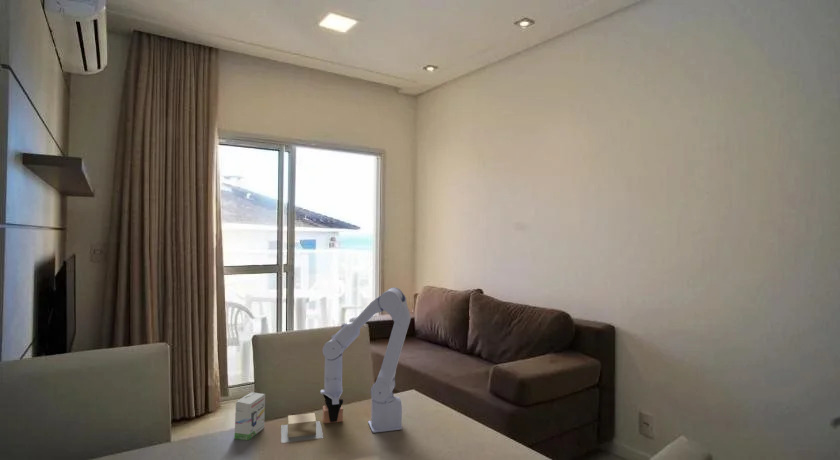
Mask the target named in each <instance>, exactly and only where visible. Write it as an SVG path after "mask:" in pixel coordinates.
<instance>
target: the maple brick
mask: <svg viewBox="0 0 840 460" xmlns="http://www.w3.org/2000/svg"><path fill="white" fill-rule="evenodd" d="M316 421H317V420H316V414H315V412H312V413H311V412H310V413H301V414H293V415H292V414H289V415H287V424H288V437H296V436H305V435H313V434H316Z"/></svg>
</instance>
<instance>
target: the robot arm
mask: <svg viewBox="0 0 840 460" xmlns="http://www.w3.org/2000/svg"><path fill="white" fill-rule="evenodd" d="M383 312H385V313H387V314H388V315H389V316H390V317H391V319H392V320H393V326H392V329H391V332H390V336H389V339H388V344H387V347H386V350H385V354H384V356H383V360H382V363H381V367H380V370H379V373H378V375H377V378H376V380H375V382H374V383H373V385H371V388H370V396H371V415H370V417H371V418H370V419H371V420H368V422H367V423H368V426H369V428H370V429H371V432H372V433H382V432H392V431H398V430H399V431H400V430H402V429H403V426H402V423H403V421H402V417H403V405H402V400H401V398H400V397H399V396H395V395H394V392H393V391H394V389H395V388H396V380H395V378H396V373H397V367H398V364H399V360H400V357H401V353H402V350H403V346H404V344H405V340H406V335H407V332H408V329H409V326H410V323H411V319H412V317H411V312H410V311H409V305H408V302H407V297H406V295H405V294H404V292H403V291H402V290H401V289H400V288H398V287H389V288H388V289H387V290H386V291H383V293H381V294H380V295H379V296H377V297H376V298H374V300H373V301H371V302H370V303H369V304H368V305H367V306H366V307H365V308H364V309H363V310H362V312H361V313H360V314H359V315H358V316H357V317H356V319H354V320H353V321H347V322H346V323H345V322H344V323H342V324H341V325H340V329H339V330H338V331H337V332H336V333H335V334H332V335H331V337H330V338H331V339H329V341H327V342H325V344H324V345H323V346H322V354H323V356H324V372H323V373H324V374H323V375H324V380H323V382H324V384H323V385H324V386H323V387H324V388H323V389H320V392H319V393H320V395H323V398H324V399H325V400H324V402H325V406H327V407H328V412H329V419H330V422H331V423H337V422H336V421H337V419H338V414H339V410H340V407H341V405H342V406H343V403H344V399H342V398H340V397H341V396H342V394H343V353H344V352H345V351H346V349H348V347H349V346H350V345H351V344H352V343H353V342H355V340H357V338H358V337H360V334H361V328H362V327H363V326H364V325H365V324H367V322H368V321H370V320H371V319H372V317H374V316H375V314H379V313H383Z"/></svg>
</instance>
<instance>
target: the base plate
mask: <svg viewBox="0 0 840 460" xmlns="http://www.w3.org/2000/svg"><path fill="white" fill-rule="evenodd" d="M318 439H319V440H320V439H324V433H323V428H322V425H321V421H320V420H316V434H313V435H305V436H296V437H288V423H287V424H281V425H280V442H281V444H285V443H293V442H302V441H303V442H304V441H309V440H310V441H311V440H318Z"/></svg>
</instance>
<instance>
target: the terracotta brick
mask: <svg viewBox="0 0 840 460" xmlns="http://www.w3.org/2000/svg"><path fill="white" fill-rule="evenodd" d="M343 421H344V408H343V404H342V405H341V407H340V410H339V414H338V419H337V421H336V422H335V423H338V422H343ZM322 422H323V424H330V423H332V422H330V419H329V412H328V407H327V405H323V406H322Z"/></svg>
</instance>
